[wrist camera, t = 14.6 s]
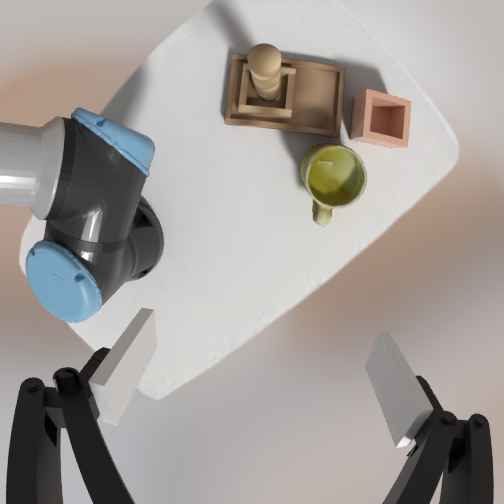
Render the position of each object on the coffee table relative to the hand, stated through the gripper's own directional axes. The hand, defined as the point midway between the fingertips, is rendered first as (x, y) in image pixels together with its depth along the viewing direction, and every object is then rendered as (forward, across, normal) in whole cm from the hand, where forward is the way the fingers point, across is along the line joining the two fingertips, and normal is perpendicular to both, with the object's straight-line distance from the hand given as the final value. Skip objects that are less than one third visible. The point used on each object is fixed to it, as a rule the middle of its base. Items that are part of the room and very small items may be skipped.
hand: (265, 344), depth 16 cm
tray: (+35, +1, +21) cm, 41 cm away
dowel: (+33, -2, +21) cm, 40 cm away
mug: (+35, +9, +7) cm, 37 cm away
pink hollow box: (+35, +16, +19) cm, 43 cm away
